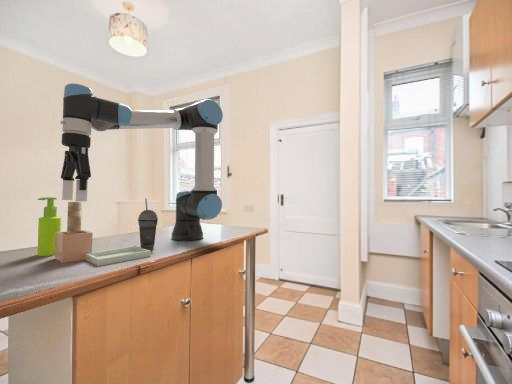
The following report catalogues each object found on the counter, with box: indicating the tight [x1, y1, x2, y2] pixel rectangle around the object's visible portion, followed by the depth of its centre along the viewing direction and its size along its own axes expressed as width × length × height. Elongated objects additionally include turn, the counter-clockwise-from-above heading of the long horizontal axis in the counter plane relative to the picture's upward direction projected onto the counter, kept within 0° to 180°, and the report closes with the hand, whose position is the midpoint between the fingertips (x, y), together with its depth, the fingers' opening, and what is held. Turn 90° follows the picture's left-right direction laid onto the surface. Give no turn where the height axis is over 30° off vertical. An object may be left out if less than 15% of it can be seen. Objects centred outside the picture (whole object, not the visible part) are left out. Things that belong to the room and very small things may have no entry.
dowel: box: [66, 201, 83, 235], centre depth 80 cm, size 4×4×18 cm
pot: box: [54, 229, 93, 264], centre depth 80 cm, size 8×8×9 cm
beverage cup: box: [137, 198, 159, 251], centre depth 98 cm, size 7×7×20 cm
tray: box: [84, 245, 152, 267], centre depth 82 cm, size 16×11×3 cm
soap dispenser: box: [37, 196, 62, 257], centre depth 84 cm, size 6×7×20 cm
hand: (73, 200), depth 80 cm, fingers open, 13 cm apart
